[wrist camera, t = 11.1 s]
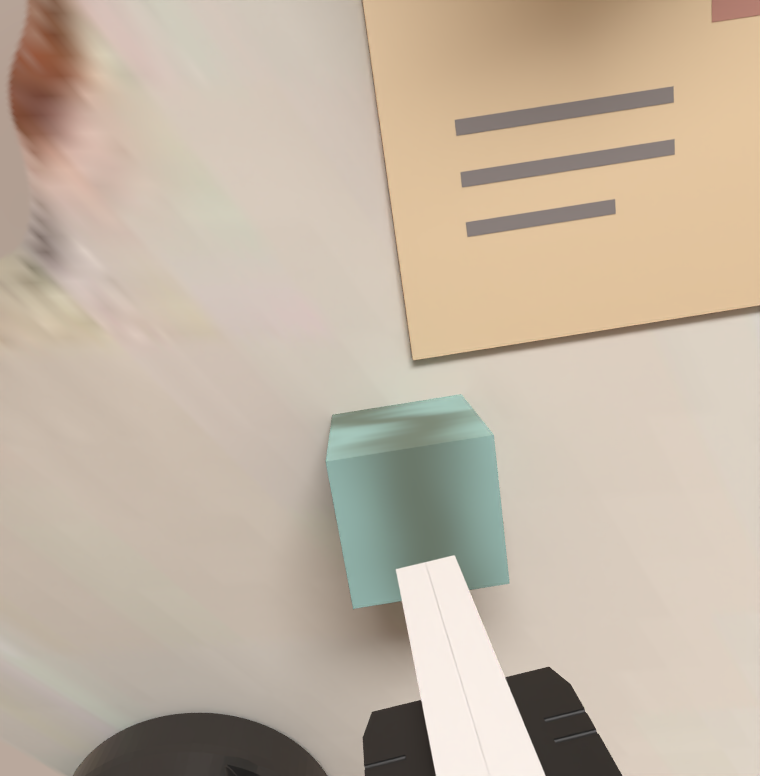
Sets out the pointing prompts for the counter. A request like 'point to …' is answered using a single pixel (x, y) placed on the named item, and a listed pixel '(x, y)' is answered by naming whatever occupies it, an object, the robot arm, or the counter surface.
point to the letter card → (568, 163)
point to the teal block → (415, 495)
